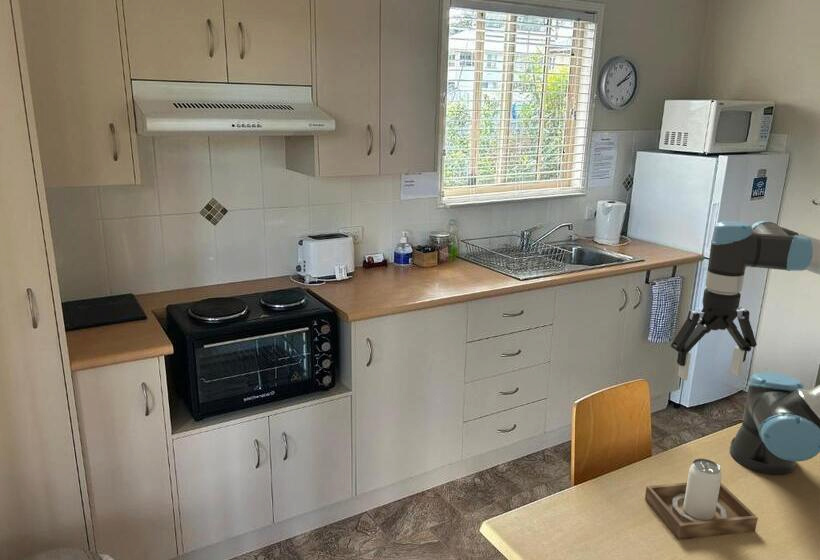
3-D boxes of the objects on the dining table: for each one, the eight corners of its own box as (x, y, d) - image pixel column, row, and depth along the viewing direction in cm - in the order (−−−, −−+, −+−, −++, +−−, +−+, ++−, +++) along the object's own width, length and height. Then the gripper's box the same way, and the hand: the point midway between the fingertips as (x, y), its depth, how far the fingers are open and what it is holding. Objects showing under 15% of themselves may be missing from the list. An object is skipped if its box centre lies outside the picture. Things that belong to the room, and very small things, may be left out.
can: (686, 519, 140) (694, 472, 137) (680, 501, 146) (687, 455, 143) (717, 523, 139) (726, 476, 136) (710, 505, 145) (718, 459, 142)
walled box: (715, 492, 151) (717, 479, 150) (755, 531, 138) (757, 517, 137) (644, 499, 148) (646, 486, 147) (678, 539, 135) (680, 525, 134)
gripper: (761, 283, 149) (746, 366, 156) (662, 287, 145) (651, 372, 152) (783, 292, 142) (767, 379, 148) (681, 297, 138) (668, 386, 144)
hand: (708, 376), depth 150 cm, fingers open, 13 cm apart
